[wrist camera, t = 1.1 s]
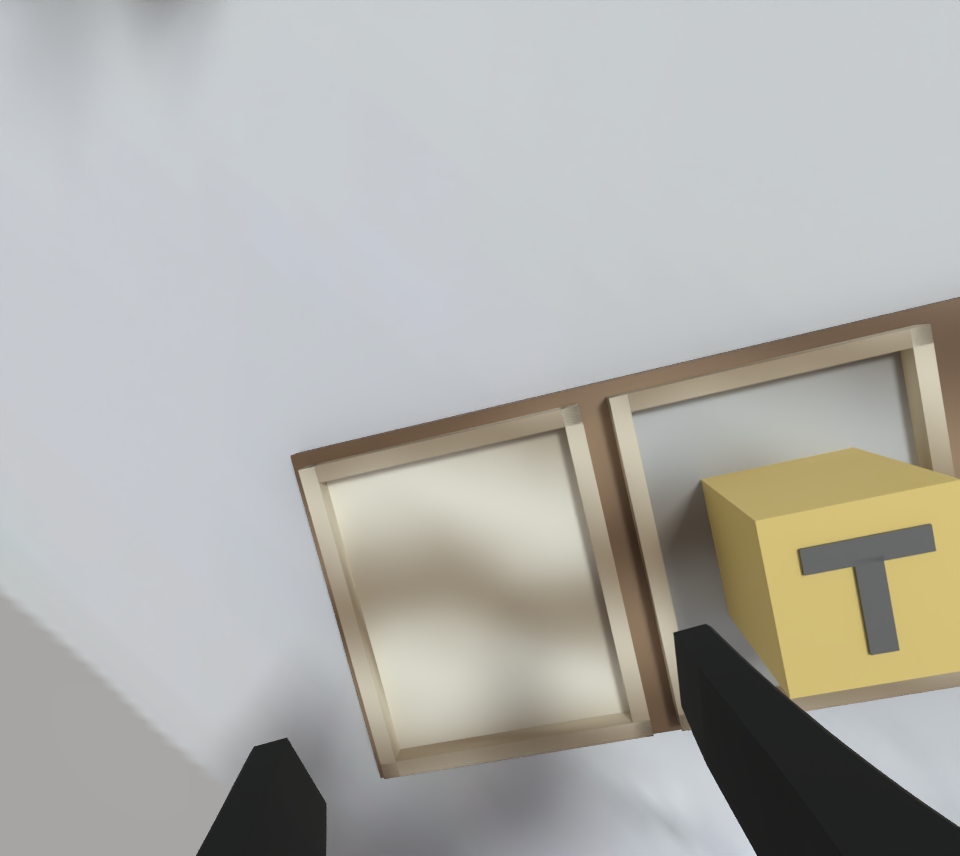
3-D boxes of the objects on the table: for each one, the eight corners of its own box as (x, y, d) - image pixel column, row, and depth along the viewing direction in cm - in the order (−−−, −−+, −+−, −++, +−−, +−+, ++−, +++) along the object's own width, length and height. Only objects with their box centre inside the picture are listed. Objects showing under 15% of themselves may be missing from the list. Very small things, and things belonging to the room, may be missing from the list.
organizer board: (1261, 623, 20) (1316, 644, 18) (384, 767, 23) (375, 793, 22) (1220, 235, 18) (1276, 226, 17) (296, 453, 22) (280, 459, 21)
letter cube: (878, 588, 20) (994, 668, 15) (729, 615, 21) (792, 701, 16) (853, 446, 19) (964, 480, 14) (700, 479, 20) (756, 522, 15)
